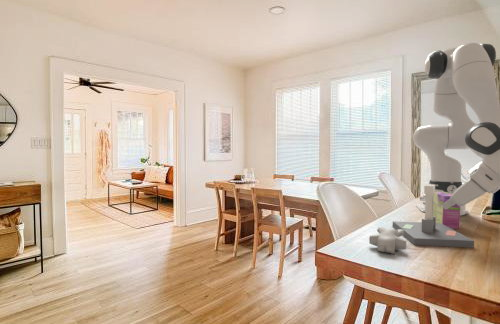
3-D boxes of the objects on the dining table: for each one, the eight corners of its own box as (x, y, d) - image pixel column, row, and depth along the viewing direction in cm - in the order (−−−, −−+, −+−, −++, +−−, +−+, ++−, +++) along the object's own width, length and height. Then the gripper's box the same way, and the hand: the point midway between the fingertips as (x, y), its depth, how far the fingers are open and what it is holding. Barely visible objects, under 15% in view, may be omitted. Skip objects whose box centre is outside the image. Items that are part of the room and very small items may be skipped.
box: (460, 229, 103) (461, 196, 102) (442, 228, 104) (443, 195, 103) (446, 221, 113) (447, 191, 112) (430, 221, 114) (431, 191, 113)
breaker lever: (435, 227, 95) (436, 184, 94) (433, 230, 92) (434, 186, 91) (424, 226, 97) (425, 184, 96) (422, 229, 94) (423, 185, 93)
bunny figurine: (366, 238, 80) (374, 220, 93) (366, 255, 81) (374, 235, 94) (405, 243, 75) (408, 224, 88) (404, 262, 76) (408, 240, 89)
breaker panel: (392, 226, 106) (392, 210, 105) (440, 228, 103) (440, 211, 103) (414, 244, 86) (414, 224, 86) (473, 247, 83) (474, 227, 83)
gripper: (476, 168, 94) (440, 195, 101) (474, 172, 78) (431, 204, 85) (494, 183, 91) (455, 209, 98) (495, 190, 76) (449, 221, 82)
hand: (444, 207), depth 91 cm, fingers closed
